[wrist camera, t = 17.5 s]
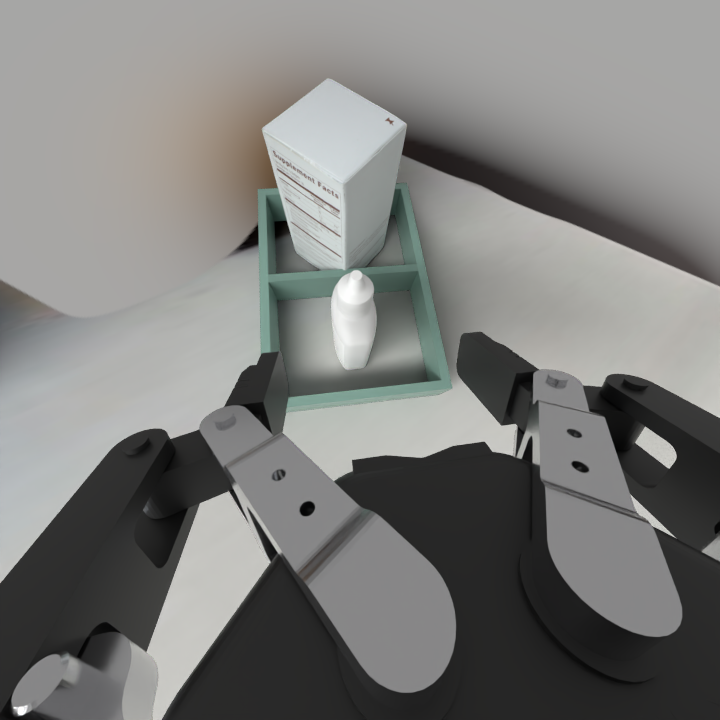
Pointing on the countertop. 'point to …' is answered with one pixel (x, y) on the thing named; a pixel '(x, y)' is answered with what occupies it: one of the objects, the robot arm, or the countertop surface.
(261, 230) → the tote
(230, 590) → the countertop surface
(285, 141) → the supplement box
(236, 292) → the countertop surface
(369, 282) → the eye dropper bottle
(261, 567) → the countertop surface
